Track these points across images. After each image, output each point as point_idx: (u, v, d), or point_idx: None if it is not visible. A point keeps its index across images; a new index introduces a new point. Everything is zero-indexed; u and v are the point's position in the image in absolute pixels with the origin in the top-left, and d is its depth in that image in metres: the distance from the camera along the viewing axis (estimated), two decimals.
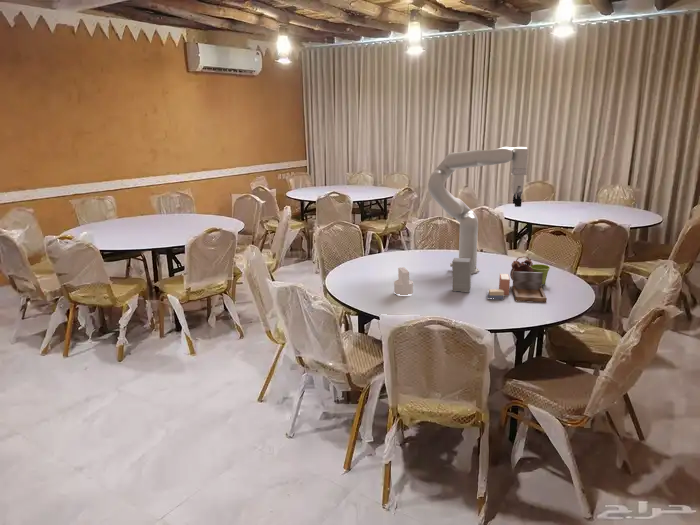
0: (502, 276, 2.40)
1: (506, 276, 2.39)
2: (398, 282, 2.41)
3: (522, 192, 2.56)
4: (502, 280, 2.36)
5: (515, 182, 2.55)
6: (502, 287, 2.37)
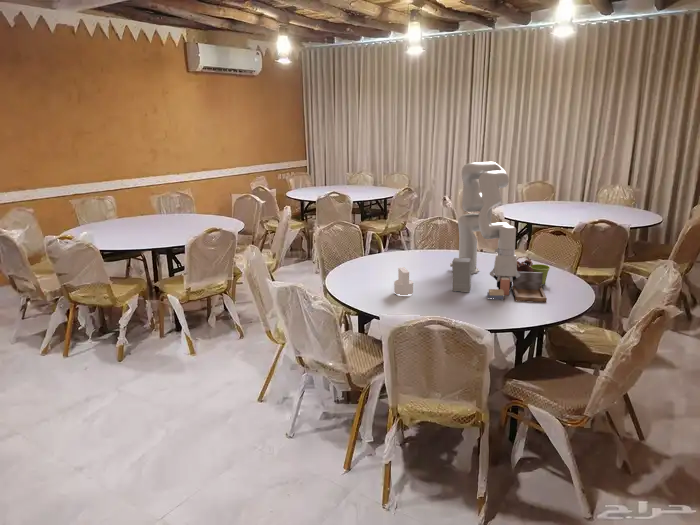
0: (502, 276, 2.40)
1: (506, 276, 2.39)
2: (398, 282, 2.41)
3: None
4: (502, 280, 2.36)
5: (516, 263, 2.35)
6: (502, 287, 2.37)
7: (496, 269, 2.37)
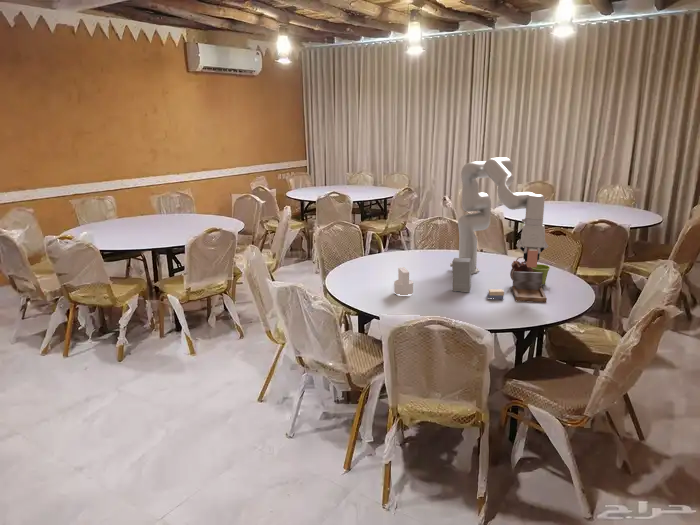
0: (529, 247, 2.30)
1: (533, 247, 2.30)
2: (398, 282, 2.41)
3: None
4: (530, 251, 2.27)
5: (544, 233, 2.26)
6: (530, 258, 2.28)
7: (523, 240, 2.28)
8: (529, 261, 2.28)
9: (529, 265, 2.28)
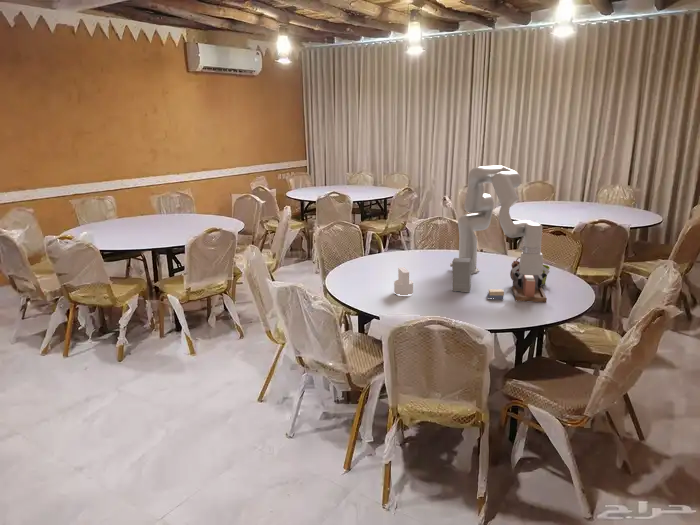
0: (527, 277, 2.34)
1: (531, 277, 2.34)
2: (398, 282, 2.41)
3: None
4: (527, 281, 2.31)
5: (542, 261, 2.29)
6: (527, 289, 2.32)
7: (521, 268, 2.31)
8: (527, 291, 2.32)
9: (527, 295, 2.32)
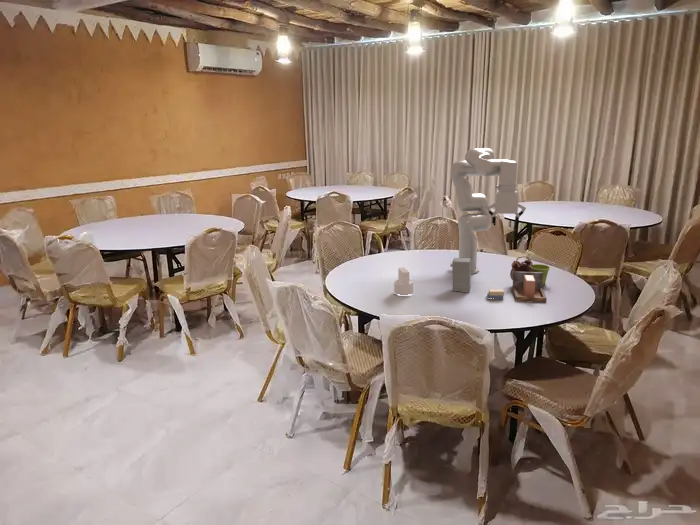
0: (527, 277, 2.34)
1: (531, 277, 2.34)
2: (398, 282, 2.41)
3: None
4: (527, 281, 2.31)
5: (517, 199, 2.29)
6: (527, 289, 2.32)
7: (497, 206, 2.31)
8: (527, 291, 2.32)
9: (527, 295, 2.32)
